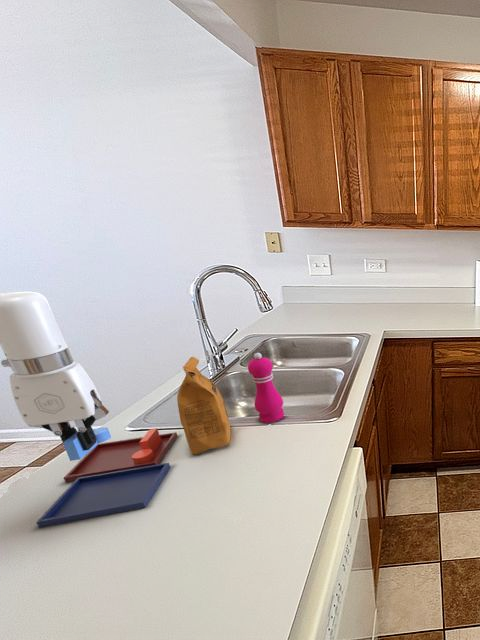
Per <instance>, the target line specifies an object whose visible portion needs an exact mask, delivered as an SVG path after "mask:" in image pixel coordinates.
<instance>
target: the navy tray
mask: <svg viewBox="0 0 480 640" xmlns="http://www.w3.org/2000/svg"><path fill="white" fill-rule="evenodd" d="M170 469H171V466H170V463H169V462H164V463H160V464H158V465H152V466H146V467H140V468H134V469H128V470H122V471H116V472H110V473H104V474H98V475H92V476H86V477H80V478H77V479H76V480H75V481H74V482H71V485H69V487H67V488H66V489H65V491H63V493H62V494H61V495H60V496H59V497H58V498H57V499H56V501H54V502H53V504H52V505H50V507H49V508H48V509H47V510H46V511H45V512H44V513H43V514H42V516H41V517H40V518H38V520H37V521H36V525H37V527H38V528H39V529H41V528H46V527H52V526H56V525H62V524H67V523H72V522H78V521H83V520H88V519H89V520H90V519H94V518H98V517H104V516H110V515H114V514H120V513H124V512H125V513H126V512H130V511H135V510H140V509H145V508H147V506H148V504H149V503H150V501H151V499H152V498H153V496H154V495H155V493H156V492H157V490H158V488H159V486H160V485H161V483H162V482H163V480H164V479H165V477H166V476H167V474H168V472H169V471H170Z"/></svg>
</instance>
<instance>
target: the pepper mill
mask: <svg viewBox="0 0 480 640" xmlns="http://www.w3.org/2000/svg"><path fill="white" fill-rule="evenodd" d="M253 357H254V358H252V359H251V360H250V361H249V362H248V364H247V371H248V373H249V374H250V375H251V379H252V382H253V383H254V384H255V386H256V394H255V398H254V409H255V410H256V412H258V417H259V421H260V422H261V423H264V424H271V423H274V422H278V421H280V420H282V418H284V416H285V411H284V409H283V408H282V407H283V406H284V399H283V397H282V395H281V394H280V393H279V391H278V390H277V389H276V387H275V385H274V382H273V378H274V374H273V372H272V371H273V369H274V366H273V365H274V364H273V362H272V360H271V359H270V358H268V357H263V356H262V354H261V353H260V352H256V353H254V355H253Z"/></svg>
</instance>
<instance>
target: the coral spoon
mask: <svg viewBox="0 0 480 640" xmlns="http://www.w3.org/2000/svg"><path fill="white" fill-rule="evenodd" d="M160 435H161V434H160V432H159V430H158V428H157V427H156V428H149V429H148V431H147V432H146V433H145V435H143V436H142V437H143V438H142V439H141V441H140V442H139V443H140V445H141V448H142V450H140V451H138V452H136V453H134V454H133V455H132V459H133V461H134V463H135V465H137V464H143V463H149V462H151V461H152V460H153V459H154V458H155V457H154V454H153V453H154V452H155V450H156V449H157V447H158V446H159V445H160V443H161V442H162V440H161V438H160Z"/></svg>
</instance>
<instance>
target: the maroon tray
mask: <svg viewBox="0 0 480 640" xmlns="http://www.w3.org/2000/svg"><path fill="white" fill-rule="evenodd" d="M159 435H160V438H161V440H162V442H161V443H160V445H159V446H158V447H157V449H156V450H155V452H154V453H153V454H154V457H155V458H154V459H153V460H152V461H151V462H149V463H143V464H137V465H135V463H134V461H133V459H132V455H133V454H134V453H136V452H138V451H140V450H142V448H141V445H140V443H139V442H140V441H141V439H142V438H143V437H144V436H141V437H135V438H134V437H133V438H128V439H121V440H115V441H109V442H108V441H107V442H102V443H98V445H96V446H95V447H94V448H93V449H92V450H91V451H90V452H88V453H87V454H86V455H85V456H84V457H83V458H81V459H80V460H79V461H78V462H77V464H75V465H74V466H73V467H72V468H71V469H70V471H69V472H67V474H66V475H65V476H64V477H63V480H64V483H65V484H67V483H73V482H74V481H75V480H76V479H77V478H80V477H86V476H92V475H98V474H104V473H110V472H116V471H122V470H128V469H134V468H140V467H146V466H152V465H158V464H161V462H162V461H163V460H164V458H165V457H166V455H167V454H168V452H169V450H170V449H171V447H172V445H174V443H175V442H176V440H177V438H179V436H178V433H177V432H176V431H174V432H168V433H161V434H159Z"/></svg>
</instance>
